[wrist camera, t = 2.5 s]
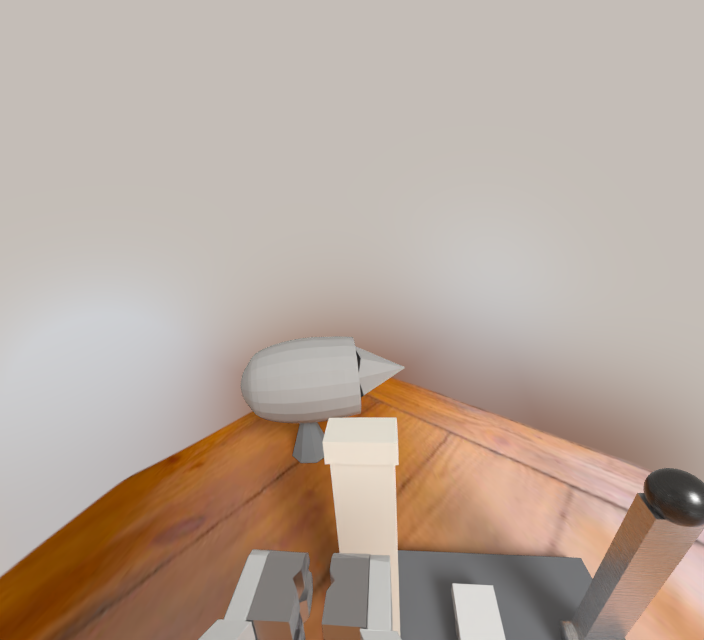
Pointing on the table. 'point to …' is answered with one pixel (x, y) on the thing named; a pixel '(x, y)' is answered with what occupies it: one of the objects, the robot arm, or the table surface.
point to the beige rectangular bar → (365, 489)
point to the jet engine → (312, 385)
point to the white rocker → (476, 612)
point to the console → (509, 586)
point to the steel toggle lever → (640, 556)
